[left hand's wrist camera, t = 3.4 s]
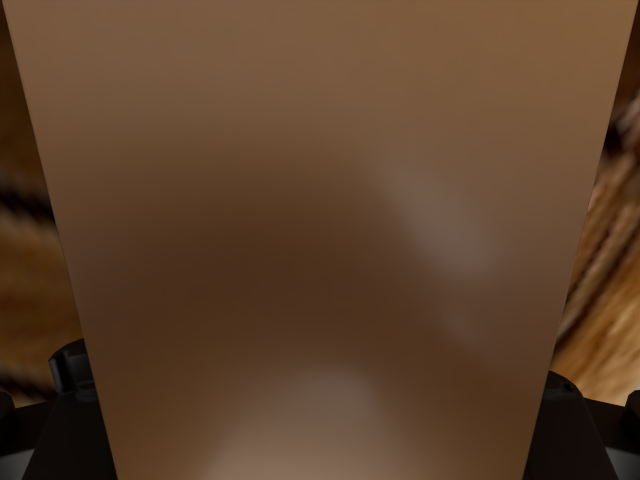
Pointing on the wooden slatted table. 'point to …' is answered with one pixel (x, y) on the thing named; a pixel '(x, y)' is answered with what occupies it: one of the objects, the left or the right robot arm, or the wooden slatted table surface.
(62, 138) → the bar
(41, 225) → the wooden slatted table surface
